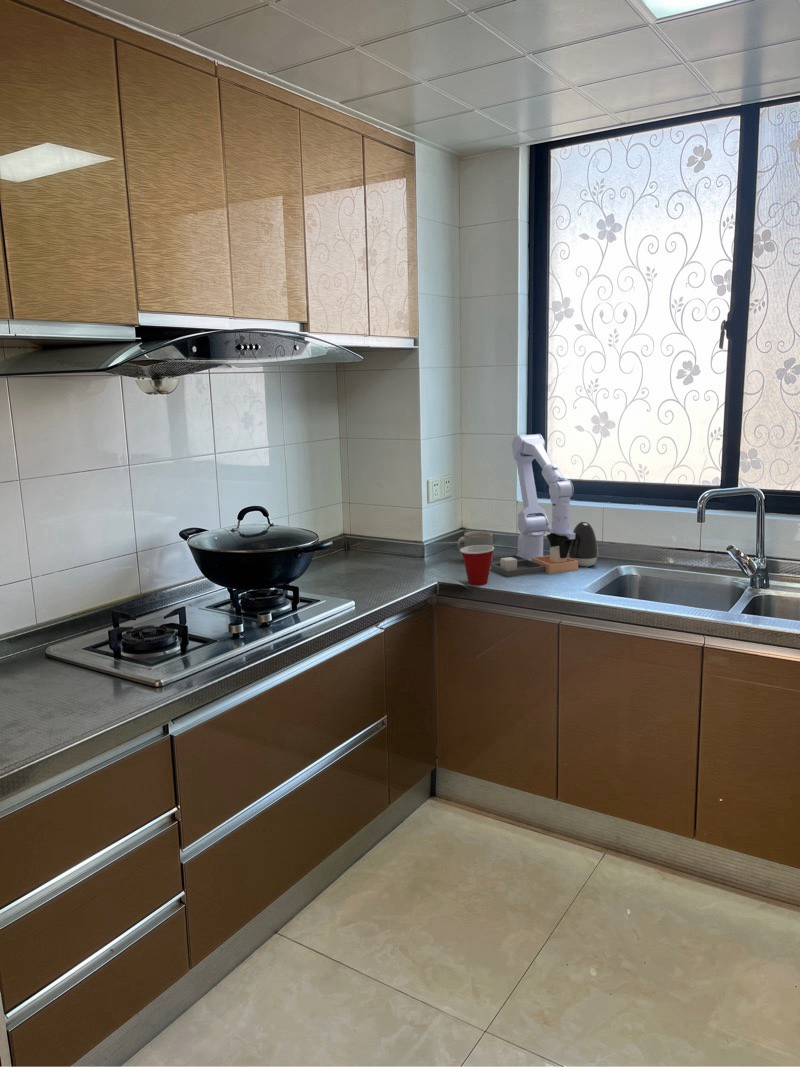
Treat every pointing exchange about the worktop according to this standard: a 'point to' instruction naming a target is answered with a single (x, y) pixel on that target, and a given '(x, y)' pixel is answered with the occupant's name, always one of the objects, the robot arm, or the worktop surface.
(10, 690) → the worktop surface
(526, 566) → the parts tray
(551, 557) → the stone
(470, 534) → the coffee mug
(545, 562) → the terracotta dish
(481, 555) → the plastic cup
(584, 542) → the dark grey rounded dome
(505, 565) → the stone
